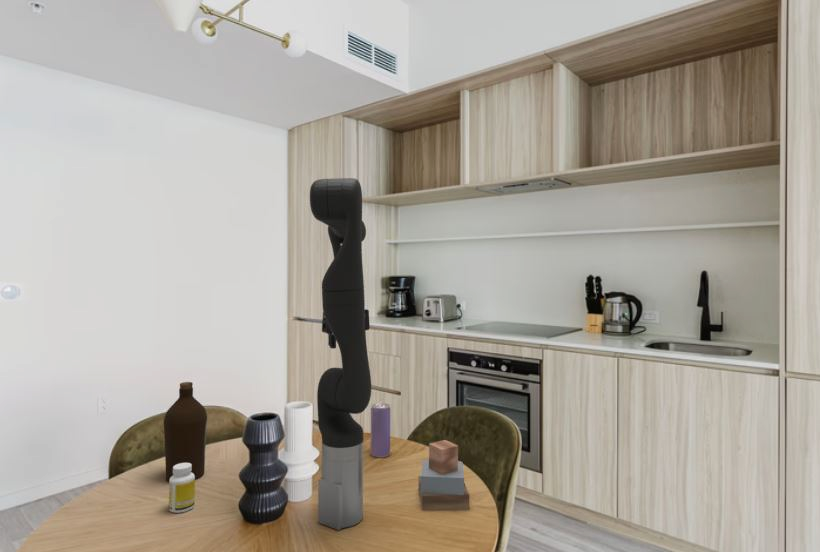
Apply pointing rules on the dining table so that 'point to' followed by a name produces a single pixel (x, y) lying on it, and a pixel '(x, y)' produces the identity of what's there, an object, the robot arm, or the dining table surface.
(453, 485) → the slate top slab
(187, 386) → the olive oil
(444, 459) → the terracotta block
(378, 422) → the beverage can
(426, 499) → the walnut base slab
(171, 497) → the supplement bottle
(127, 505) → the dining table surface
